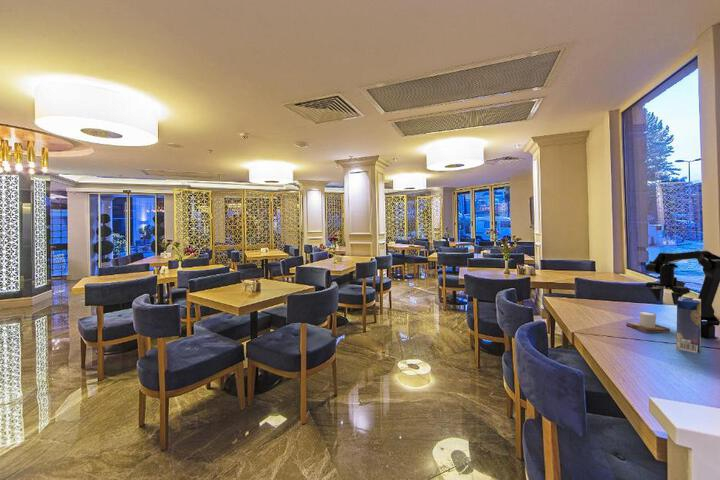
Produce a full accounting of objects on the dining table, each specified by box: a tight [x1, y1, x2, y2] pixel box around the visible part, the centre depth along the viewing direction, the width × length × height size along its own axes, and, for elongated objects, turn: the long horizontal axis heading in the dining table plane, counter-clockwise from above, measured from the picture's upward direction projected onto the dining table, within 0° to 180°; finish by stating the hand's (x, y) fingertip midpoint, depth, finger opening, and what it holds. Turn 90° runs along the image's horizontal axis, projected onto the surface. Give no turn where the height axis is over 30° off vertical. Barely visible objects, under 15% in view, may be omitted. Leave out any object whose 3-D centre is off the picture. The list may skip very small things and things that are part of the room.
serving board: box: [625, 321, 671, 333], centre depth 163 cm, size 12×12×2 cm
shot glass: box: [638, 311, 657, 328], centre depth 163 cm, size 7×7×7 cm
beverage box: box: [675, 296, 702, 354], centre depth 137 cm, size 7×11×22 cm, turn 130°
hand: (666, 302), depth 169 cm, fingers open, 9 cm apart
